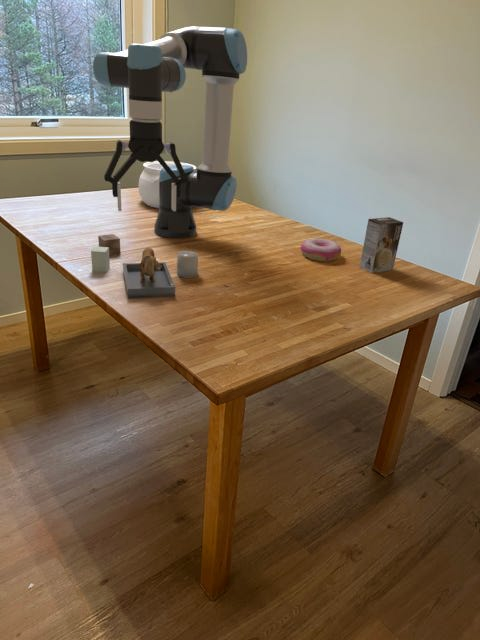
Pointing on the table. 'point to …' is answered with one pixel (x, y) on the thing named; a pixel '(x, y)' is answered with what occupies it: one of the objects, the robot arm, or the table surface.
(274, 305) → the table surface
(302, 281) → the table surface
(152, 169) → the pot
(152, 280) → the lion figurine
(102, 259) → the sage block
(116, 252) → the walnut block
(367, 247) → the coffee box
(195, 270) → the pale grey rounded cylinder
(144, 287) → the slate tray
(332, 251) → the donut
